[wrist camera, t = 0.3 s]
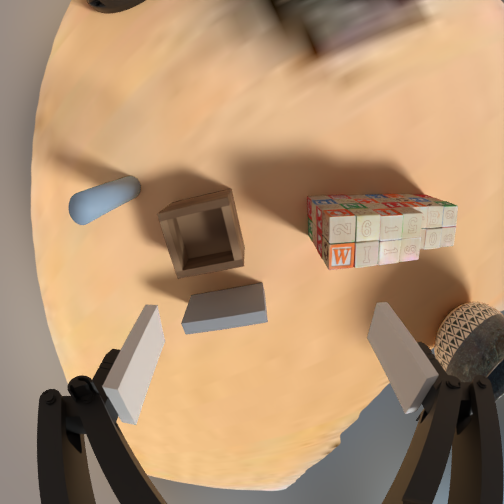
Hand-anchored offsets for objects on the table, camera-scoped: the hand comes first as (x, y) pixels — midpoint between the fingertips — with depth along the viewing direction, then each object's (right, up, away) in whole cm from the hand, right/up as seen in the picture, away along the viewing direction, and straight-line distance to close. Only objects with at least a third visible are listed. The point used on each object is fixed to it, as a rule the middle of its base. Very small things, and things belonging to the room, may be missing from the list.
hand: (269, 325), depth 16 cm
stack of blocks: (+18, +10, +25) cm, 32 cm away
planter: (+45, -12, +34) cm, 57 cm away
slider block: (-7, +8, +25) cm, 27 cm away
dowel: (-19, +14, +22) cm, 33 cm away
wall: (-5, -3, +29) cm, 30 cm away
